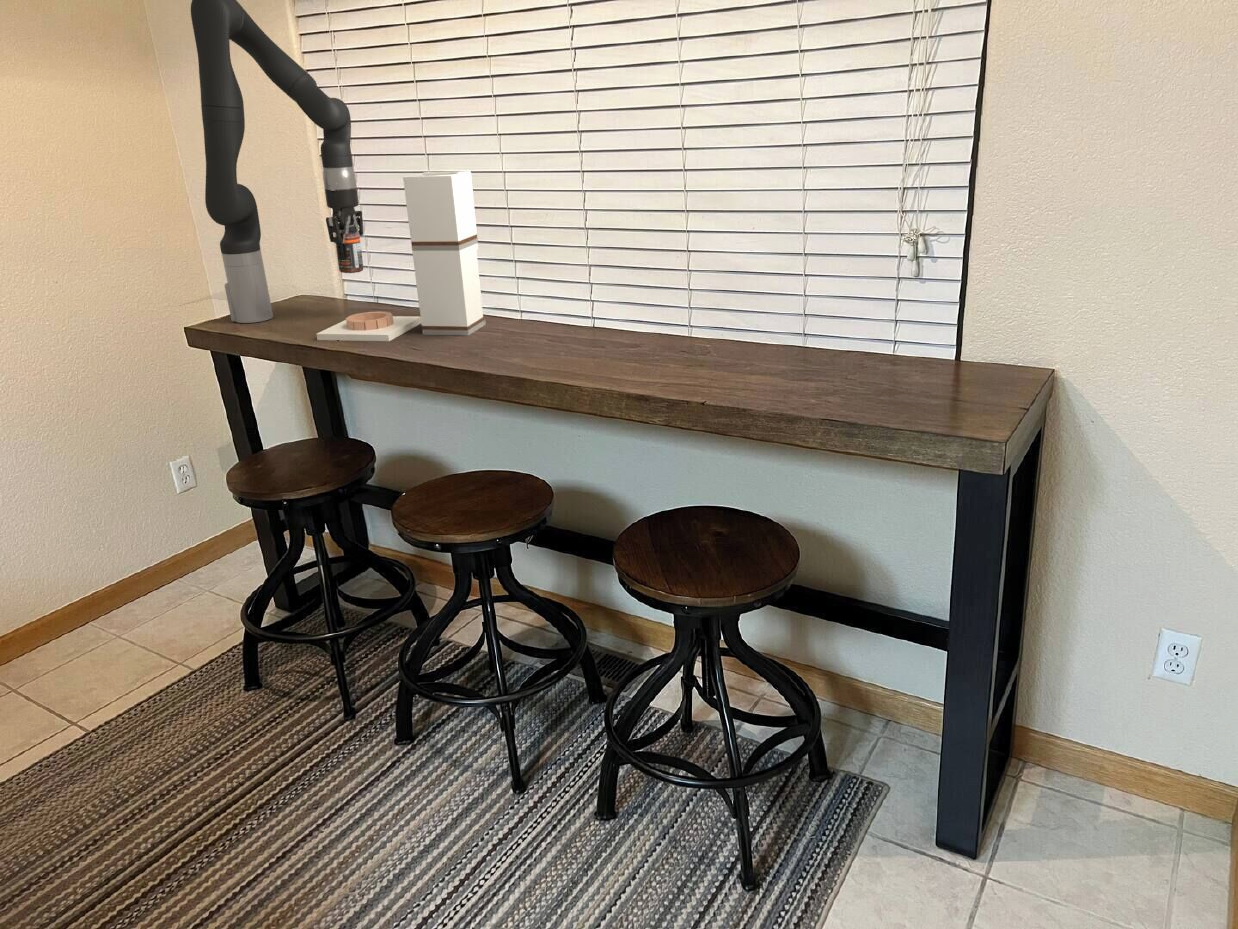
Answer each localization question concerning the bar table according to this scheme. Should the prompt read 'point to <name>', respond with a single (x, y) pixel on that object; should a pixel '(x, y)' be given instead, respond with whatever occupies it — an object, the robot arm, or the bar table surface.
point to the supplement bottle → (351, 253)
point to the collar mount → (370, 327)
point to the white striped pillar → (445, 252)
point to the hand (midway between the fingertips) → (349, 256)
